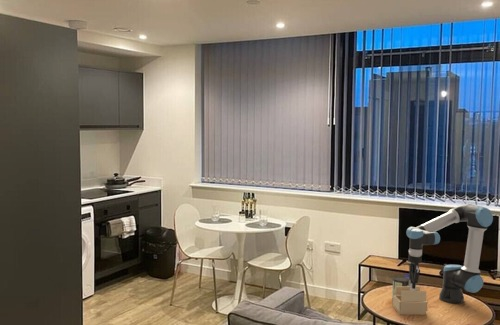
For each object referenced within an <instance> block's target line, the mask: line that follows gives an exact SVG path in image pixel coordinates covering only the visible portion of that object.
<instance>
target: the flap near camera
mask: <svg viewBox="0 0 500 325" xmlns="http://www.w3.org/2000/svg"><path fill="white" fill-rule="evenodd" d="M401 301H427V291H426V290H420V291H401Z"/></svg>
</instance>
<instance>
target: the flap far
mask: <svg viewBox="0 0 500 325" xmlns="http://www.w3.org/2000/svg"><path fill="white" fill-rule="evenodd" d="M410 287H411V286H396V290H395V294H401V291H410ZM415 291H421V286H418V285H417V286H416V289H415Z"/></svg>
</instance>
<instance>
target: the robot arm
mask: <svg viewBox="0 0 500 325" xmlns="http://www.w3.org/2000/svg"><path fill="white" fill-rule="evenodd" d="M493 216H494V214H493V213H492V211H491V209H490V208H487V207H485V206H480V205H475V204H470V203H465V204H464V203H463V204H461V205H458V206H455V207H453V208H451V209H448V211H447V212H445V213H443V214H441V215H440V216H436V217H435V218H432V219H431V220H429V221H426V222H425V223H422V224H420V225H418V226H416V227H415V226H409V227H408V228H407V229H406V232H405V233H406V236H407V237H408V238H409V246H408V247H409V249H408V250H407V251H408V259H407V260H408V262H410V263H408V271H409V272H408V274H409V280H410V282H411V287H410V291H415V289H416V285H417V284H419V277H420V272H421V269H420V266H419V265H420V263H422V260H423V259H422V256H423V246H432V245H433V246H434V245H438V244H439V243H440V241H441V236H440V234H439V233H438V232H437V231H440V230H442V229H443V228H445V227H448V226H450V225H452V224H454V223H455V224H458V223H460V222H466V226H467V228H468V234H467V241H466V247H465V255H464V260H463V261H464V262H463V265H460V264H446V265H444V266H443V271H442V288H441V290H440V292H439V299H440V300H441V301H443V302H445V303H449V304H462V303H464V302H465V297H464V292H463V290H464V291H466V292H469V293H474V294H475V293H478V292H479V291H481V289H482V287H483V286H484V279H483V277H482V276H481V270H480V269H479V266H480V261H481V260H480V259H481V254H482V246H483V240H484V235H485V234H484V233H485V231H487V230H488V227H489V226H491V225H492V223H493V221H494V217H493Z"/></svg>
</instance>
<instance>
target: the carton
mask: <svg viewBox="0 0 500 325" xmlns="http://www.w3.org/2000/svg"><path fill="white" fill-rule="evenodd" d="M392 305H393V308H394V310H396V312H397V313H398V314H399V315H400V316H427V312H428V301H427V300H426V301H401V295H394V296H393V300H392Z"/></svg>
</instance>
